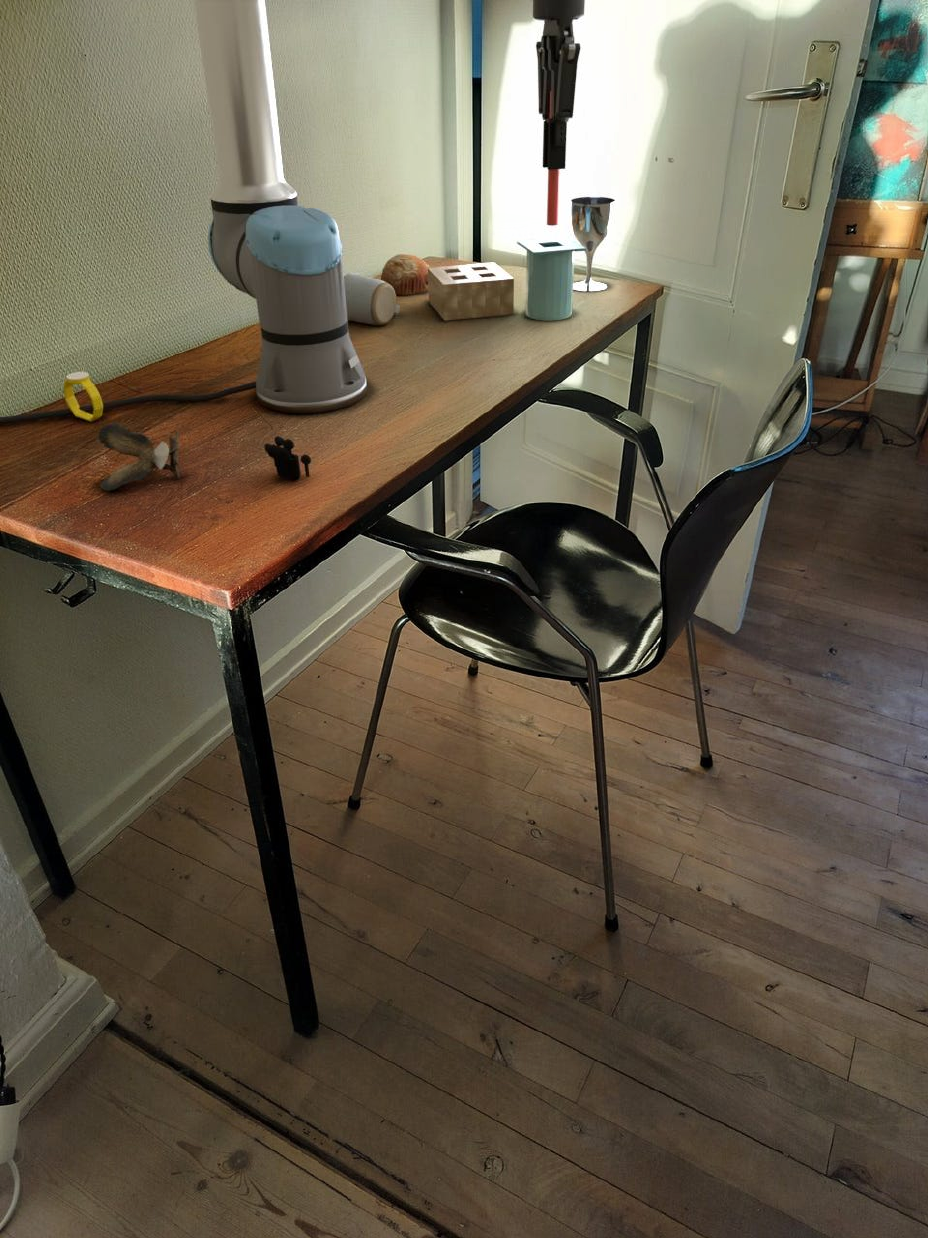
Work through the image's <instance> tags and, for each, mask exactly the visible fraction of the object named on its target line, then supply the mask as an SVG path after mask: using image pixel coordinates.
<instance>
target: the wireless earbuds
mask: <svg viewBox="0 0 928 1238" xmlns="http://www.w3.org/2000/svg"><path fill="white" fill-rule="evenodd" d="M274 443H275V444H271V443H268V442H267V443H265V444H264V451H265V453H266V454H267V455H268V456H269V457H270V458H272V459H273V463H274V467H275V470H276V474H277V476H278V477H280V478H282V479H285V480H288V481H292V482H297V481H299V480H300V479H301V476H302V474H301V466H300V462H301V464H303V465H304V473H305V478H309V477H310V476H311V475H310V468H309V465H311V463H312V458H311V457H310V456H309V455H308V454H302V455H301V457H300V459H299V455H298V454H295V453H293V451H292V450H293V449H294V448H295V443H294V441H292V439H289V438H287V439H284V438H283V437H281V436H278V435H277V436H275V437H274Z"/></svg>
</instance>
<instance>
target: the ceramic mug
mask: <svg viewBox="0 0 928 1238" xmlns="http://www.w3.org/2000/svg"><path fill="white" fill-rule="evenodd" d="M344 285H345V297H346V308H347V321H350V322H355V323H360V324H361V323H362V324H367V325H373V326H383V325H386V324H388V323H389V322H390V321H391V320H392V318H393V316H394V315H396V316H397V315H399V313H400V305H399V304H397V295H396V294H395V291H394V289H393V287H392V286H391V285H390V284H388V283H386V282H384V281H382V280H381V279H380V278H379V279H378V278H373V277H370V276H366V275H362V274H359V273H355V272H349V273H347V274H344Z"/></svg>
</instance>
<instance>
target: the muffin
mask: <svg viewBox="0 0 928 1238" xmlns="http://www.w3.org/2000/svg"><path fill="white" fill-rule="evenodd" d="M428 268H431V267H430V265H429V264H428V263H427V262H425V260H423V259H422V258H420V257H417V256H416V255H414V254H409V253H398V254H396V255H394V256H392V257H391V258H389V259H388V260H387V261H386V263H385V264H384V266H383V267H382V270H381V275H380V280H382V281H384V282H386V283H388V284H390V285H391V286H392V287H393V289H394V291H395V294H396V296H407V295H417V294H422V293H425V292H429V291H428Z"/></svg>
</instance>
